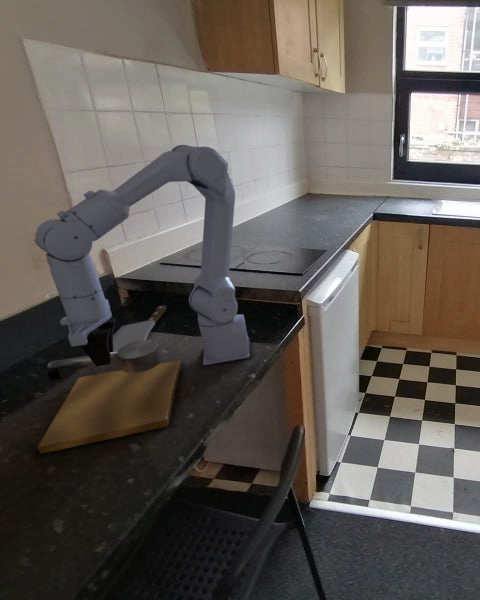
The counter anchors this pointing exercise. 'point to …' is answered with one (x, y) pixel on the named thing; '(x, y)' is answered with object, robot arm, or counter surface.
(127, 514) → the counter surface
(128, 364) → the grey disc-end rod
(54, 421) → the chopping board
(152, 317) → the kitchen cleaver
